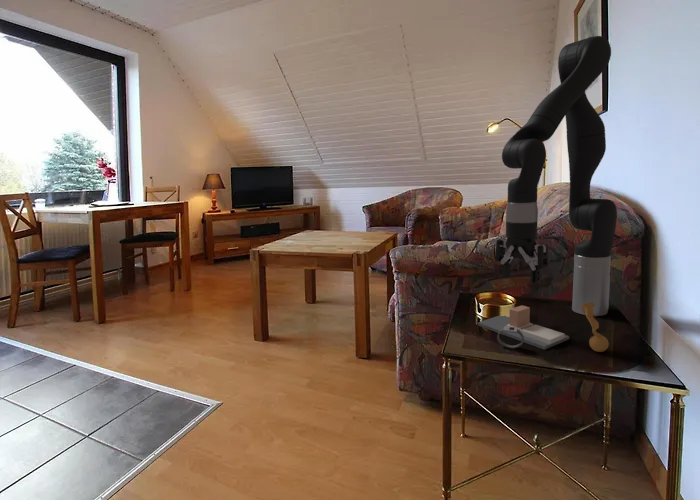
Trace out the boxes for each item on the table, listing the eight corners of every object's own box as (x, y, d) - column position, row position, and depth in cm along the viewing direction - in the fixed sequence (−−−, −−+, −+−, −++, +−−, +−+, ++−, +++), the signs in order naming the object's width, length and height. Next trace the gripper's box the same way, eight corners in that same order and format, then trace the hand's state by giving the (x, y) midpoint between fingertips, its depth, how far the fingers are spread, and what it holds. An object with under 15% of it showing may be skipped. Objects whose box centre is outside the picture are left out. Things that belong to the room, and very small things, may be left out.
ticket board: (501, 317, 128) (501, 310, 127) (569, 339, 110) (569, 331, 109) (477, 325, 123) (477, 318, 122) (544, 349, 105) (544, 341, 104)
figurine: (608, 359, 98) (611, 309, 96) (578, 355, 101) (580, 306, 99) (608, 345, 105) (610, 298, 103) (580, 341, 108) (582, 295, 106)
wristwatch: (496, 347, 108) (496, 328, 107) (498, 343, 110) (498, 324, 109) (522, 351, 105) (523, 332, 104) (524, 347, 107) (524, 327, 106)
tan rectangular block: (520, 323, 120) (521, 304, 118) (532, 327, 116) (533, 307, 115) (506, 328, 117) (506, 309, 115) (518, 333, 113) (518, 312, 112)
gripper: (556, 220, 107) (553, 283, 110) (508, 216, 119) (507, 273, 122) (537, 223, 103) (534, 289, 106) (489, 219, 115) (488, 278, 118)
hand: (519, 280), depth 114 cm, fingers open, 8 cm apart
